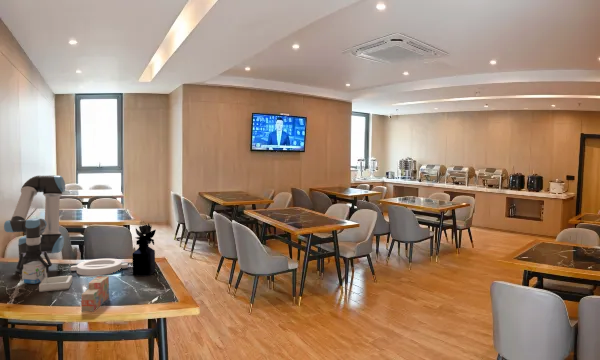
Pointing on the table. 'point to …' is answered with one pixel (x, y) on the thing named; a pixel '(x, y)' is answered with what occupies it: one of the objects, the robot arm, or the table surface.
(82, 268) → the ring with crossbar
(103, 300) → the stack of blocks
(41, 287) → the box
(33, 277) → the ink box
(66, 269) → the table surface
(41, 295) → the table surface
